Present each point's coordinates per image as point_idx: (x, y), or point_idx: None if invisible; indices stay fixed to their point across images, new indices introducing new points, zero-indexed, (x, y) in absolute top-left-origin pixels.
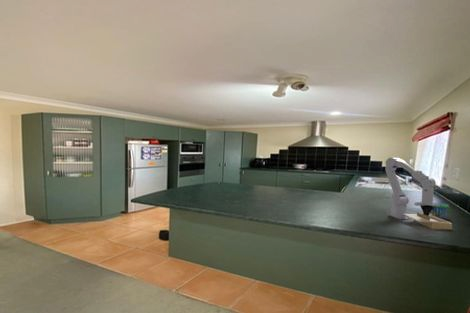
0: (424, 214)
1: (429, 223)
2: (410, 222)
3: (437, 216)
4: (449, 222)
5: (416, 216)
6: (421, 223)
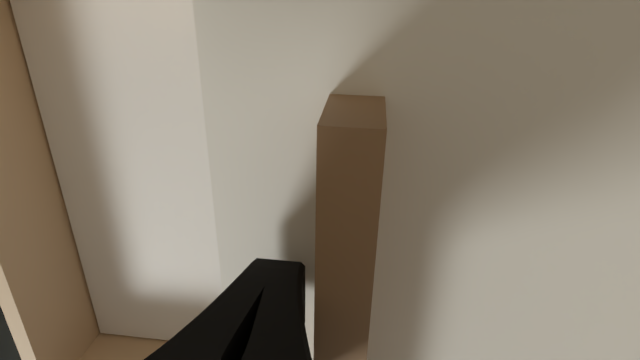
0: (333, 323)
1: None
2: None
3: None
4: None
5: (459, 339)
6: None
